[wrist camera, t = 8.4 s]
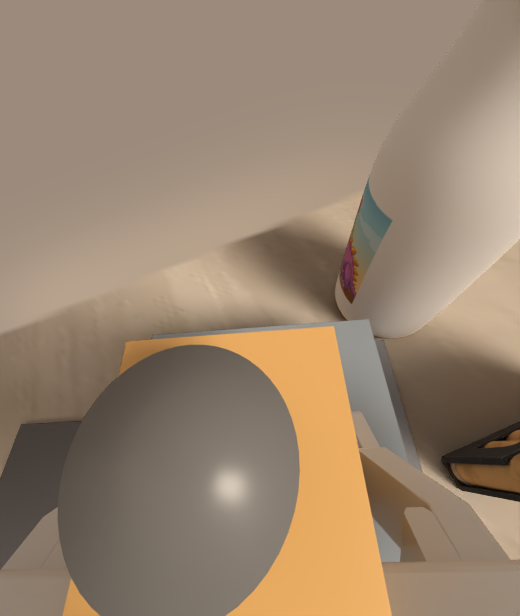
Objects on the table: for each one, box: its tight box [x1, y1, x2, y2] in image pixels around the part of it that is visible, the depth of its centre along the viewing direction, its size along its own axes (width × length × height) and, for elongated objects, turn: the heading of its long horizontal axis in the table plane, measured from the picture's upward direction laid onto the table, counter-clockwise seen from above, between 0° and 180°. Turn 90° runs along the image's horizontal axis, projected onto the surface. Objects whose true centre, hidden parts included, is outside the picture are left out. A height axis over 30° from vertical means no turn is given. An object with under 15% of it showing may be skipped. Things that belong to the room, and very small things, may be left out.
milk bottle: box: [335, 0, 520, 338], centre depth 13 cm, size 8×8×20 cm
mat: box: [0, 421, 82, 570], centre depth 17 cm, size 9×9×1 cm
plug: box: [57, 326, 392, 616], centre depth 8 cm, size 4×4×14 cm
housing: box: [151, 319, 423, 562], centre depth 14 cm, size 18×14×7 cm
